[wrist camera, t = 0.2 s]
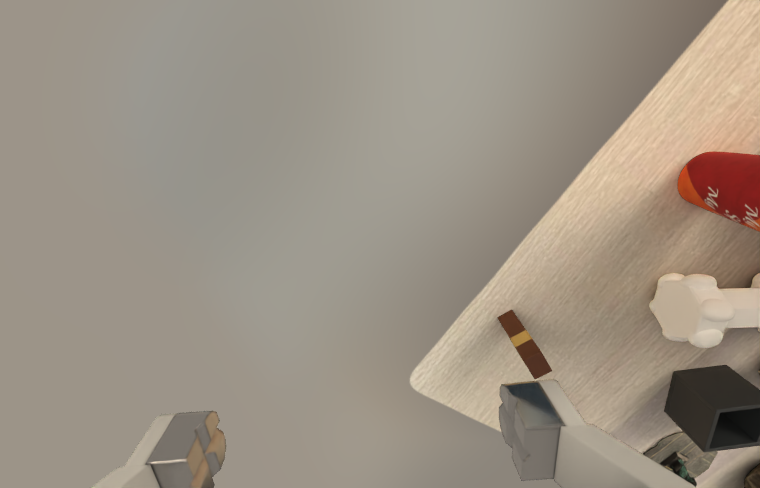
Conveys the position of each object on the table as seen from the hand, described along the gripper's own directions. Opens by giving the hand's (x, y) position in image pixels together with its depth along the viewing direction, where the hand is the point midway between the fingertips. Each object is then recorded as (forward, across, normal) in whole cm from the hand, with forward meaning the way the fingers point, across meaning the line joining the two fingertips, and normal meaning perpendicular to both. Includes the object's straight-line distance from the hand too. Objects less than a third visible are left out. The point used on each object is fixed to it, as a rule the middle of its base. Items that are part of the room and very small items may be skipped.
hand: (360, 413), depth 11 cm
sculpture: (+34, -43, +50) cm, 74 cm away
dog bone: (+31, -40, +17) cm, 53 cm away
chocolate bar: (+30, -16, +19) cm, 39 cm away
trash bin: (+31, -43, +33) cm, 62 cm away
